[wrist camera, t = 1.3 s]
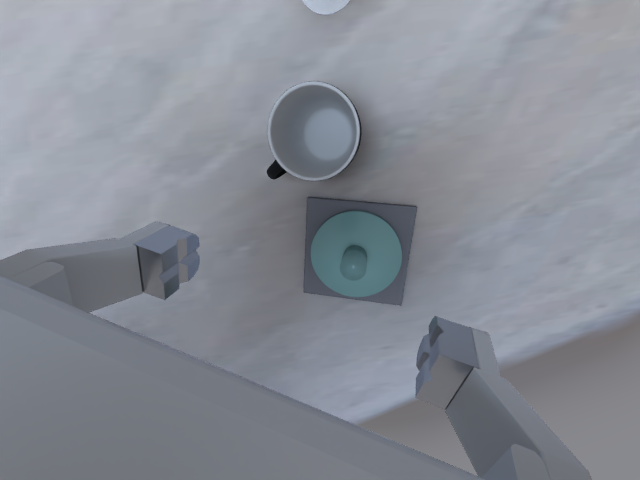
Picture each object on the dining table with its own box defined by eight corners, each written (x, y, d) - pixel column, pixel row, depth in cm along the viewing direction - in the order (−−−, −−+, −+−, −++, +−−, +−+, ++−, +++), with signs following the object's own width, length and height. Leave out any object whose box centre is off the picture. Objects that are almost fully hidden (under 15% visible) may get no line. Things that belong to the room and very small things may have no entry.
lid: (394, 298, 43) (397, 318, 38) (310, 287, 44) (302, 305, 40) (407, 214, 39) (411, 225, 34) (314, 206, 41) (305, 215, 36)
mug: (335, 78, 36) (320, 56, 27) (379, 141, 37) (380, 142, 28) (262, 143, 40) (226, 145, 31) (304, 198, 41) (282, 216, 32)
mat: (400, 302, 44) (401, 305, 43) (304, 289, 46) (303, 292, 45) (416, 206, 39) (416, 207, 38) (308, 196, 41) (307, 197, 40)
